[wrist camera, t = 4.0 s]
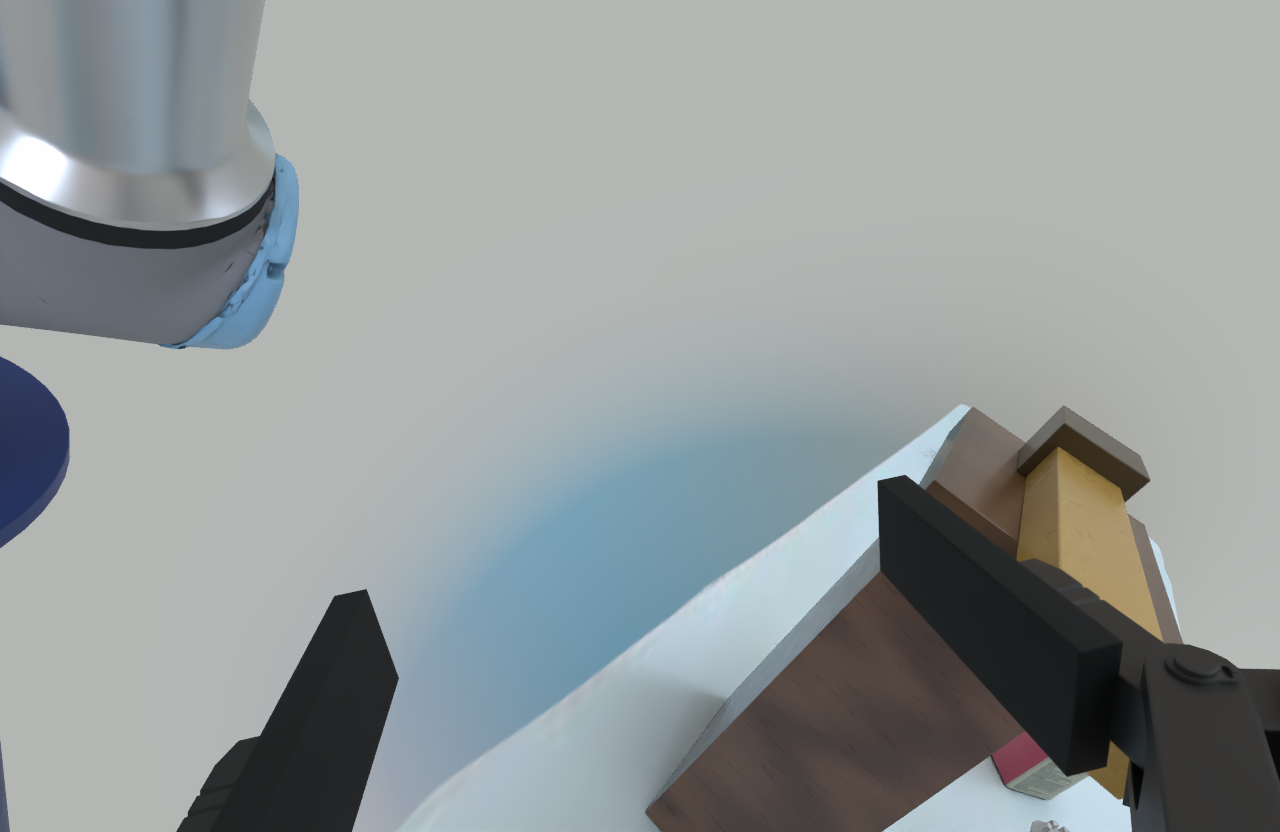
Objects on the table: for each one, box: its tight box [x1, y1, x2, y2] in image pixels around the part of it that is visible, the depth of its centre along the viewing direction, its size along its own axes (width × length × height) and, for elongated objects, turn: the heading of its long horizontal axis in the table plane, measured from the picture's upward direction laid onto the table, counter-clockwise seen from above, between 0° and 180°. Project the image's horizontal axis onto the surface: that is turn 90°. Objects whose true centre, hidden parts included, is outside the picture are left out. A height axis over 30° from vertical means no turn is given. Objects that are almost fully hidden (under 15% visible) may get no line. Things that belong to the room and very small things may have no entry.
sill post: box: [645, 407, 1183, 832], centre depth 35 cm, size 10×14×28 cm
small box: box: [992, 731, 1089, 800], centre depth 54 cm, size 5×4×8 cm
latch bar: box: [1016, 406, 1163, 799], centre depth 23 cm, size 4×22×3 cm, turn 143°
